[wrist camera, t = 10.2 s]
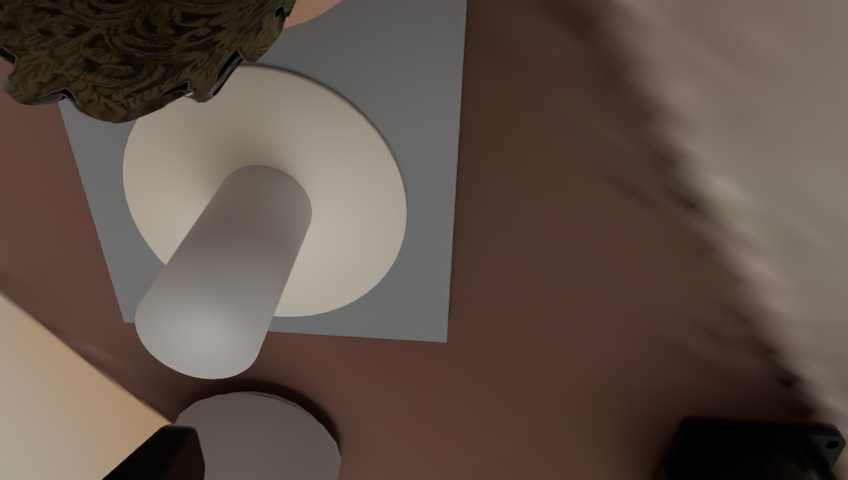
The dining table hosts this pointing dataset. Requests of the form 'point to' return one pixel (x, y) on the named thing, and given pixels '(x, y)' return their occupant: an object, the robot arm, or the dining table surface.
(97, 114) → the decorative vase
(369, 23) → the board
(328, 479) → the can
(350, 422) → the dining table surface
